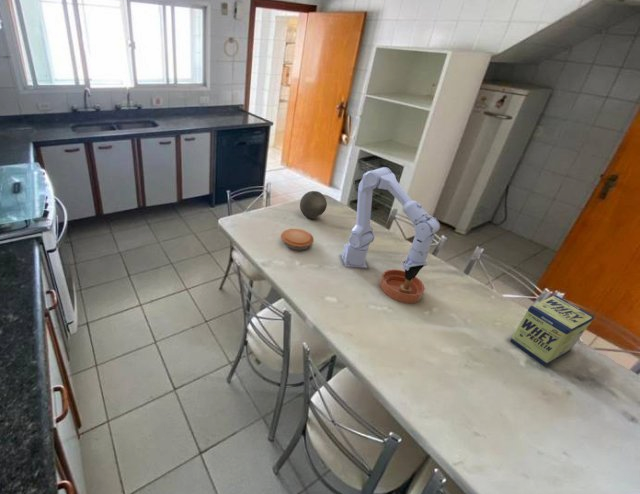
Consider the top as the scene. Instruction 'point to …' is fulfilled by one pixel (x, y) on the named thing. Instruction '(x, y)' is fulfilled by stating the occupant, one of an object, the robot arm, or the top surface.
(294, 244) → the pie
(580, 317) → the protein box
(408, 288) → the masher
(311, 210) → the grey stone ball
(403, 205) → the robot arm
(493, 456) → the top surface
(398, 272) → the bowl
